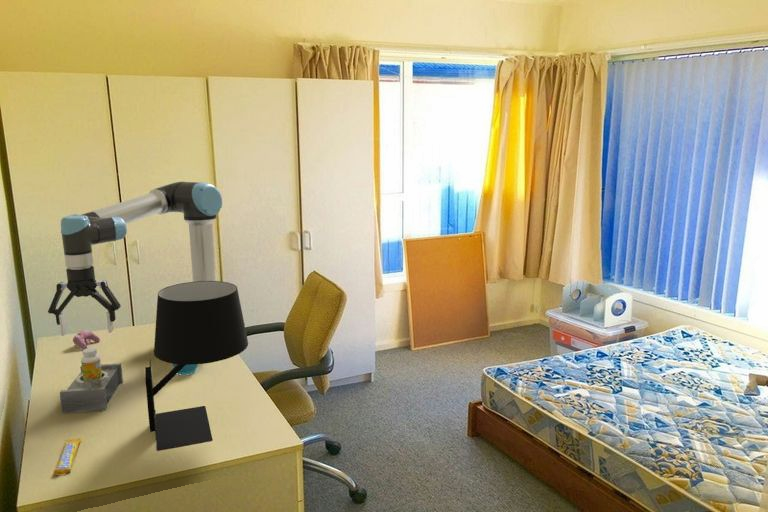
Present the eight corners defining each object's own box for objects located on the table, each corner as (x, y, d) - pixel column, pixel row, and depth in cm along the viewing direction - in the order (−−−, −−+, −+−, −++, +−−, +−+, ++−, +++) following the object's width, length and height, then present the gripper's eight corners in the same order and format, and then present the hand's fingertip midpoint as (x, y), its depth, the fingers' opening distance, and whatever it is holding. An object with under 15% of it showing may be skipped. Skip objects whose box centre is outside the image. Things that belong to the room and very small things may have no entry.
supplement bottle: (79, 381, 183) (76, 352, 181) (90, 374, 188) (87, 346, 186) (94, 383, 182) (91, 353, 180) (105, 376, 187) (102, 347, 185)
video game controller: (93, 344, 236) (84, 329, 235) (101, 340, 235) (93, 325, 234) (77, 353, 226) (68, 338, 225) (86, 349, 225) (77, 333, 224)
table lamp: (150, 412, 176) (138, 284, 167) (244, 397, 186) (238, 275, 178) (150, 455, 153) (137, 309, 144) (258, 435, 163) (252, 297, 154)
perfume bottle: (179, 379, 200) (175, 337, 196) (168, 370, 206) (165, 330, 203) (204, 371, 206) (201, 331, 202) (193, 364, 212) (190, 325, 209)
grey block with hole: (123, 382, 197) (121, 362, 195) (106, 410, 177) (104, 388, 176) (83, 385, 195) (81, 365, 193) (62, 413, 175) (59, 392, 174)
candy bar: (71, 476, 144) (70, 469, 144) (52, 478, 143) (51, 472, 143) (83, 442, 160) (82, 436, 159) (66, 444, 159) (65, 438, 158)
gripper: (126, 262, 183) (132, 326, 187) (40, 265, 178) (48, 331, 183) (120, 267, 176) (127, 334, 180) (30, 271, 171) (39, 339, 176)
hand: (87, 332), depth 182 cm, fingers open, 13 cm apart
